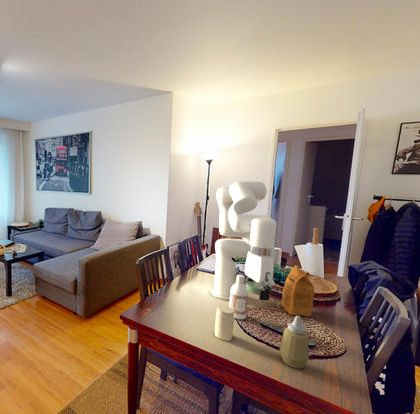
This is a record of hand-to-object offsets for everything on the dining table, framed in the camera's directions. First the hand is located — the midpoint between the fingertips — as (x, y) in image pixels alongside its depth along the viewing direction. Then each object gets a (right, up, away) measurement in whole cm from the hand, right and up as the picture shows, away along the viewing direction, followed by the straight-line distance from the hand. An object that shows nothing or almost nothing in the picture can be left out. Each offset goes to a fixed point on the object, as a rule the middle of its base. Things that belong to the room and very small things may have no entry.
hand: (257, 294), depth 106 cm
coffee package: (+38, -17, +28) cm, 50 cm away
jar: (-8, -20, +9) cm, 23 cm away
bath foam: (+7, -18, +24) cm, 31 cm away
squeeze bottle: (+7, -22, -8) cm, 25 cm away
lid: (0, +3, 0) cm, 3 cm away
